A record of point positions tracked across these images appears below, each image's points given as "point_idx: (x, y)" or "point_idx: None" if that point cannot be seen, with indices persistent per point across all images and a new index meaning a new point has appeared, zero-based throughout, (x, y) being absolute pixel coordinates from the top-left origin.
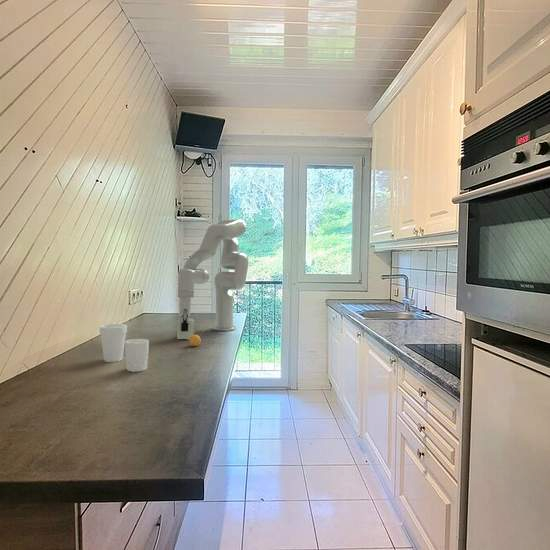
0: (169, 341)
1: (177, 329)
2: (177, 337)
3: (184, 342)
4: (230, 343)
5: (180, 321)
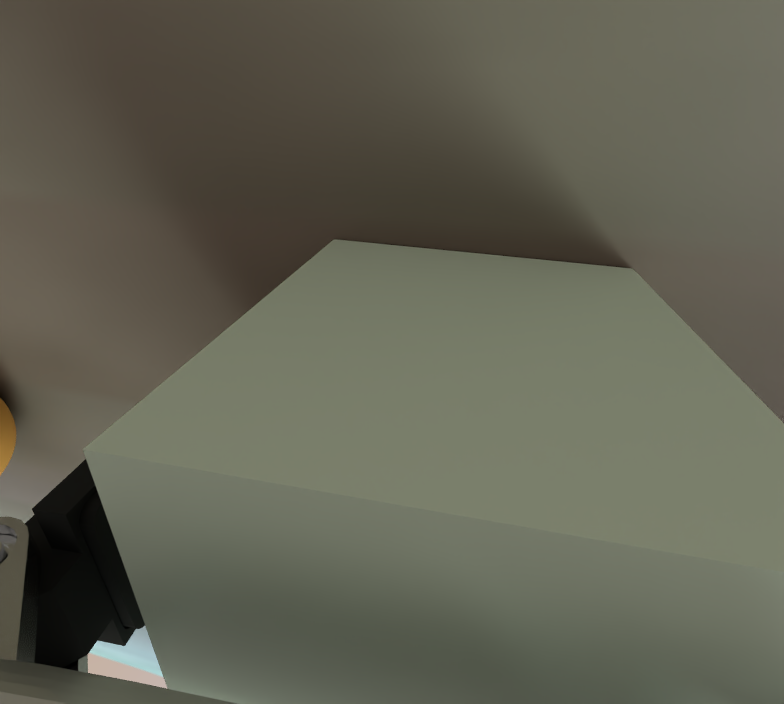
0: (205, 85)
1: (255, 309)
2: (322, 253)
3: (151, 322)
4: (150, 650)
5: (120, 536)
